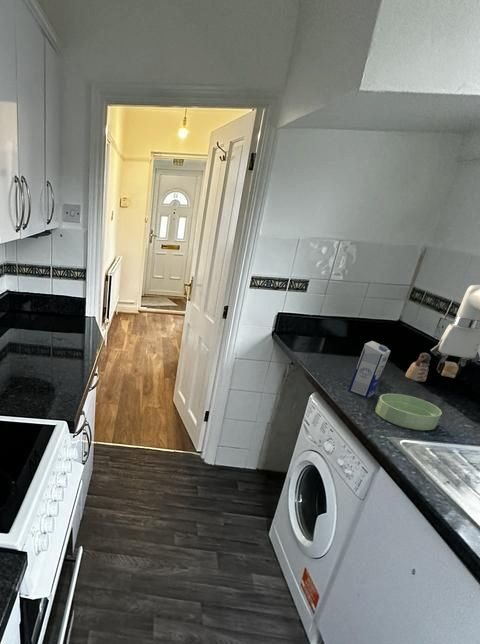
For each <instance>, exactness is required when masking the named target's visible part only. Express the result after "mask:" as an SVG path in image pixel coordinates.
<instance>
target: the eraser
mask: <svg viewBox="0 0 480 644" xmlns="http://www.w3.org/2000/svg"><path fill="white" fill-rule="evenodd" d="M458 368H459V367H458V366H457V363H456V362H454V361H448V360H445V366H444V369H443V371H442V373H441V374H440V375H441V376H442V377H448V378H452V379H455V378H456V377H455V375H456V373H457V371H458Z"/></svg>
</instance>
